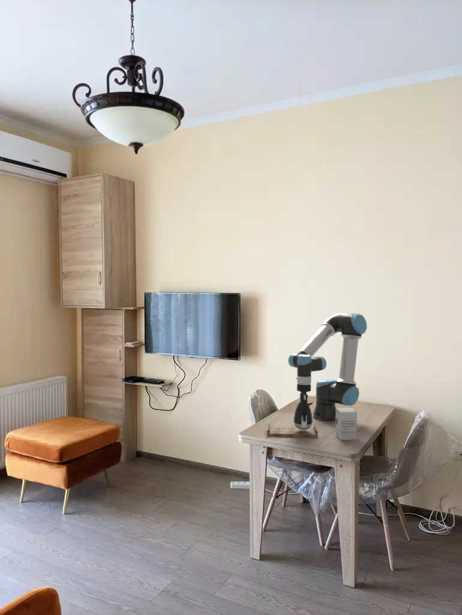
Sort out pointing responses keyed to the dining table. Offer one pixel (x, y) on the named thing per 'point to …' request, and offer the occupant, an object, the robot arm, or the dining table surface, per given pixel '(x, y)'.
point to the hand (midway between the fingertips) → (303, 424)
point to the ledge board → (292, 432)
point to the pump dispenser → (299, 417)
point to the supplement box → (346, 423)
